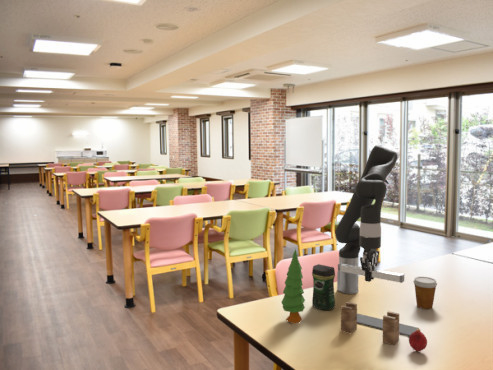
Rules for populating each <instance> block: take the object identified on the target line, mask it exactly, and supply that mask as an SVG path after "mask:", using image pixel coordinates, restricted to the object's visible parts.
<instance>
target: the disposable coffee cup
mask: <svg viewBox="0 0 493 370" xmlns="http://www.w3.org/2000/svg"><path fill="white" fill-rule="evenodd" d="M413 285H414V291H415V300H416V307H418V308H419V309H423V310H431V309H433V307H434V306H433V305H434V301H435V295H436V288H437V285H438V283H437V280H436V279H435V278H432V277H429V276H416V277H415V278H414V279H413Z"/></svg>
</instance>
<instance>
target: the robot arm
mask: <svg viewBox="0 0 493 370" xmlns="http://www.w3.org/2000/svg"><path fill="white" fill-rule="evenodd" d="M398 157H399V155H398V153H397V152H396V151H394V150H391V149H389V148H387V147H384V146H381V145H379V144H377V145H375V146H373V148H372V149H371V151H370V153H369V156H368V158H367V160H366V163H365V166H364V169H363V172H362V174H361V177H360V178H359V181H357V183H356V186H355V189H354V192H353V194H352V196H351V198H350V201H349V204H348V205H347V207H346V210H345V212H344V214H343V215H342V218H341V219H340V221H339V222H338V224H337V226H336V228H335V232H334V233H335V235H334V236H335V240H336V241H337V242H338V243H340V244H345V245H344V246H343V247H342V248H340V249H339V250H338V264H339V263H343V264H348V265H354V266H359V263H360V265H361V266H360V267H362V270H363V271H365V276H364V281H365V282H368V283H370V282H371V281H372V280H373V281H374V280H375V278H374V277H371V271H372V269H376V268H377V267H378V261H379V257H380V251H379V250H378V249H380V248H381V246H382V225H381V224H382V223H381V216H382V215H381V214H382V213H381V212H382V206H383V203H384V200H385V196H386V193H387V184H386V183H385V182H386V180H387V177H388V176H389V175H390V174H391V172H392V171H393V169H394V168H395V165H396V163H397V161H398ZM374 200H375V201H374ZM358 220H360V225H358V224H357V223H356V222H358ZM361 248H363V252H362V257H361V256H359V254H360V251H361ZM359 257H360V258H359ZM336 276H337V277H336V279H337V280H336V281H337V282H336V284H337V285H336V290H337V292H340V293H343V294H348V295H352V294H354V295H355V294H357V293H358V292H359V275H358V274H352V273H347V272H342V271H338V270H337V273H336Z"/></svg>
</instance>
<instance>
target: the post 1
mask: <svg viewBox="0 0 493 370" xmlns="http://www.w3.org/2000/svg"><path fill="white" fill-rule="evenodd" d="M357 313H358V304H357V303H355V302H354V303H353V302H349V301H346V302H345V305H341V306H340V332H344V333H347V334H352V333H353V332H354V331H355V330H356V329H357V328H358V323H357Z"/></svg>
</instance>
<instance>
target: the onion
mask: <svg viewBox="0 0 493 370" xmlns="http://www.w3.org/2000/svg"><path fill="white" fill-rule="evenodd" d="M408 337H409V338H408V344H409V346H410V347H411V349H412V350H413V351H414V352H417V353H419V352H421V351H423V350H425V349H426V348H427V346H428V340H427V337H426V335H425V334H424V333H423V332H421V329H420V328H419V329H417V330H416V331H415V332H413V333H412V334H411V335H410V336H408Z"/></svg>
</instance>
